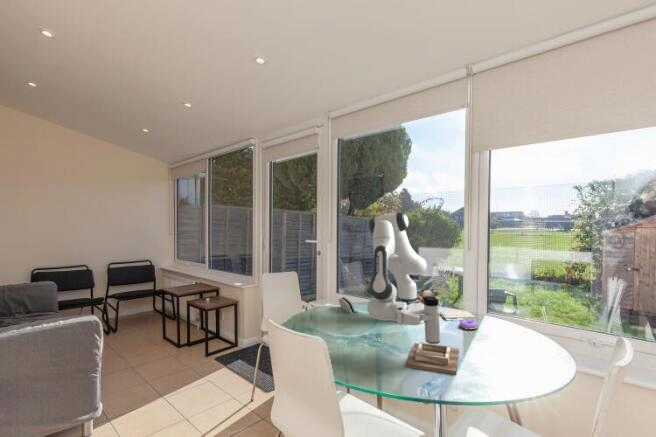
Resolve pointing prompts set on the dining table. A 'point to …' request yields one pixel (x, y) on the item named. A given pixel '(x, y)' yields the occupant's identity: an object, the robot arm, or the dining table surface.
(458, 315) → the washcloth
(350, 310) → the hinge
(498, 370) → the dining table surface
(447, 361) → the dock
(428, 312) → the travel mug
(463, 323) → the donut
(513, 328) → the dining table surface
